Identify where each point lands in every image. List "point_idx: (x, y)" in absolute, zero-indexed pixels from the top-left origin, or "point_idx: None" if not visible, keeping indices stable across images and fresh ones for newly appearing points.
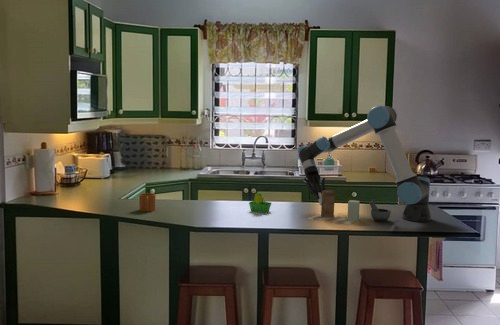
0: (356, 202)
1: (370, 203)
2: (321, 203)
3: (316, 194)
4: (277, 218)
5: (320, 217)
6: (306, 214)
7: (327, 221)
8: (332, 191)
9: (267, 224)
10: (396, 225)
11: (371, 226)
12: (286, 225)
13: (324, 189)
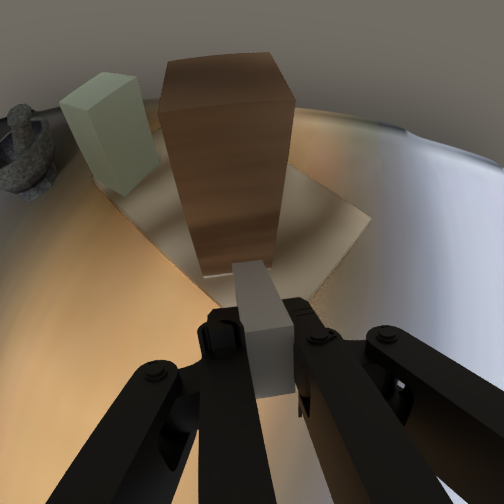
0: (107, 73)
1: (31, 112)
2: (279, 213)
3: (322, 326)
4: (492, 302)
5: (284, 237)
6: None
7: None
8: (189, 61)
9: (495, 200)
10: None
11: None
12: (441, 175)
13: (129, 394)
